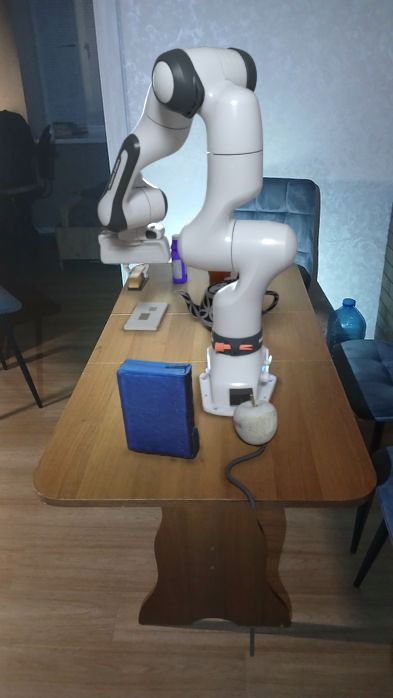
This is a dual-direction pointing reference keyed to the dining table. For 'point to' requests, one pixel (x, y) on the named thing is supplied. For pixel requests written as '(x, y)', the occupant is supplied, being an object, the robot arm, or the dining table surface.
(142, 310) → the tile
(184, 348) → the dining table surface
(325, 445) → the dining table surface
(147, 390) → the book
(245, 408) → the decorative object
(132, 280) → the brush
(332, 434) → the dining table surface
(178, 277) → the bottle
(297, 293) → the dining table surface
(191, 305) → the teapot
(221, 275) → the mug
